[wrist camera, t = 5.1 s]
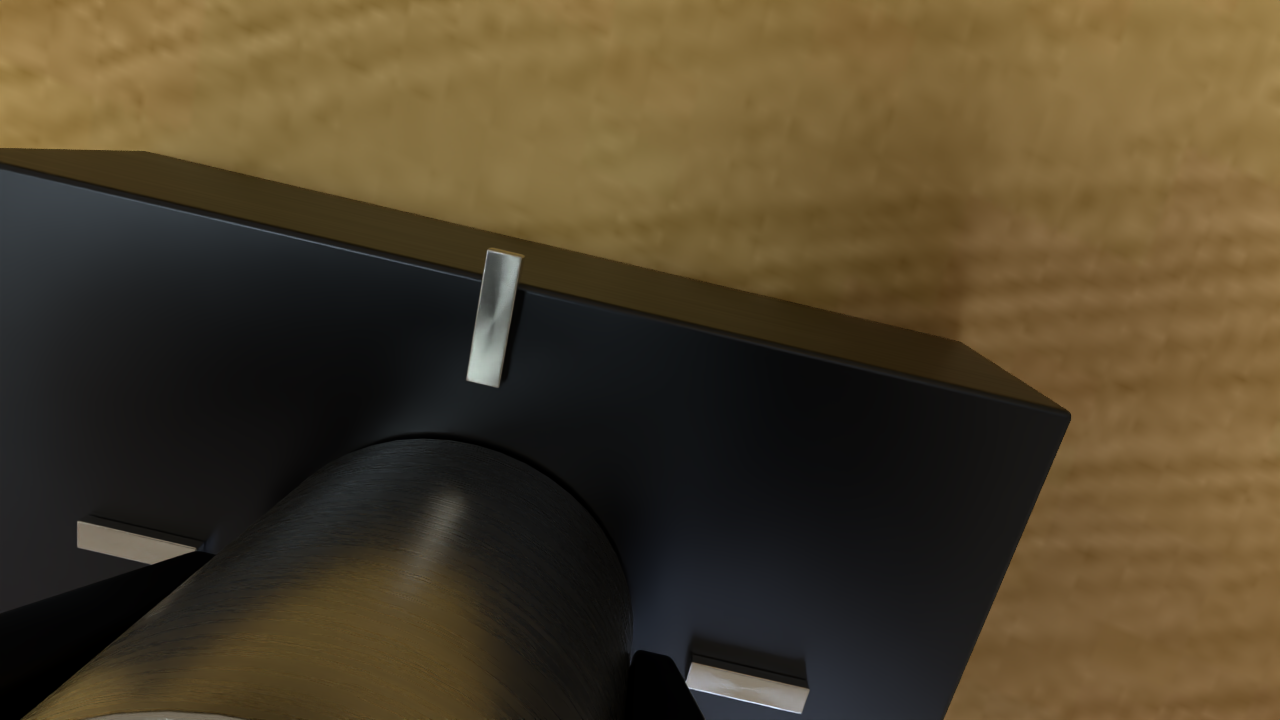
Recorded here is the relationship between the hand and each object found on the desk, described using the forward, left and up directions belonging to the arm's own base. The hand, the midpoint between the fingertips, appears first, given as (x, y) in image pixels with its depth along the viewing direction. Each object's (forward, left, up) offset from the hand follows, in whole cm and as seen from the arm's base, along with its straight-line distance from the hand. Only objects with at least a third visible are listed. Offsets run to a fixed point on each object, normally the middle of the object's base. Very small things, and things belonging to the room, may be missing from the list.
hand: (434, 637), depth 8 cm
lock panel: (0, 0, -4) cm, 4 cm away
